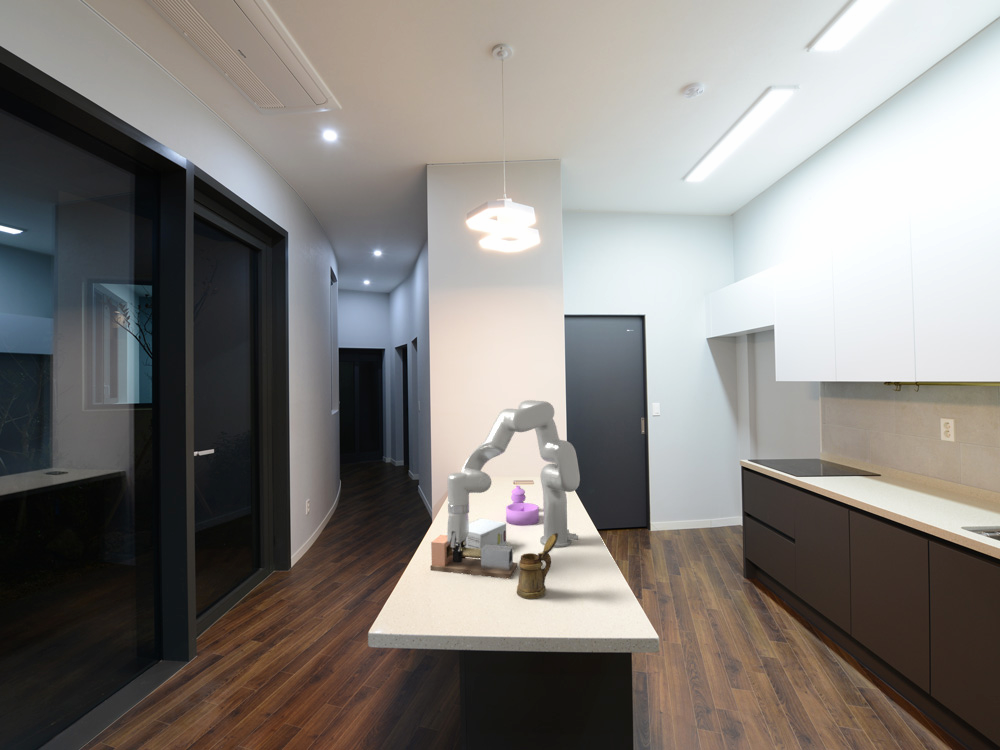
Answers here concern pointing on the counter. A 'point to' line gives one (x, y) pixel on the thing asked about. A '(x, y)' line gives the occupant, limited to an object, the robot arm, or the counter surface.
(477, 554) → the tube
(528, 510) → the container set
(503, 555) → the sleeve
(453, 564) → the base board
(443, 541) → the socket block
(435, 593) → the counter surface
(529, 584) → the wooden mug
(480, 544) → the supplement box
